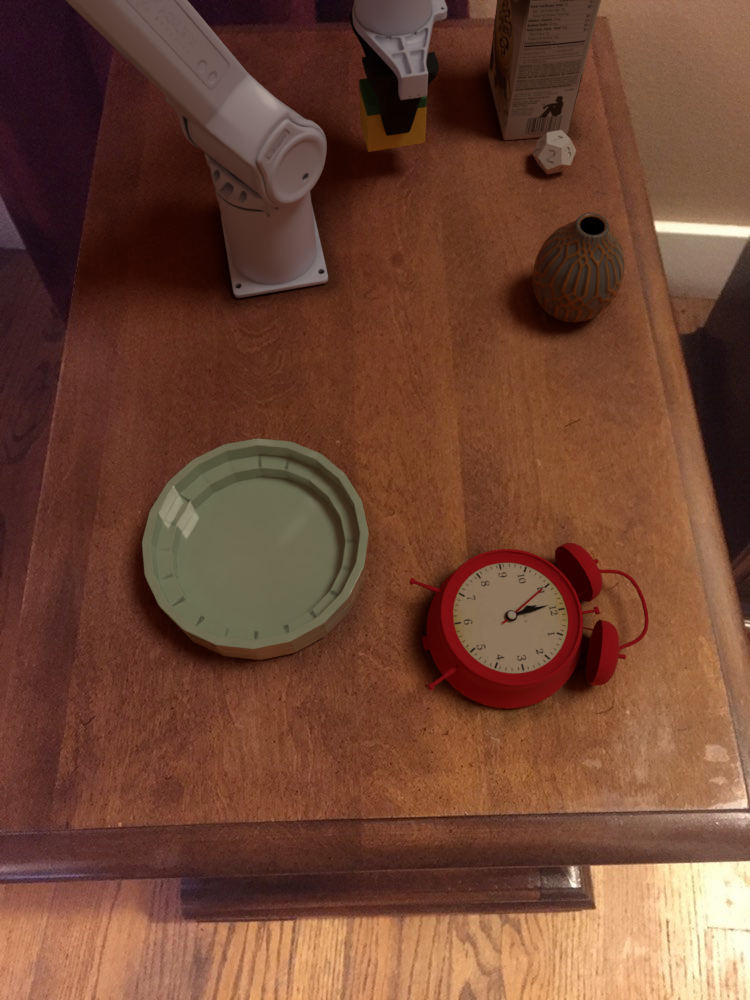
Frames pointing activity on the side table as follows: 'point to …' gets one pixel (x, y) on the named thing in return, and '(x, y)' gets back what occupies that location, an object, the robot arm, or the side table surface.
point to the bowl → (257, 548)
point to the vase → (579, 269)
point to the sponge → (374, 125)
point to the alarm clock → (520, 625)
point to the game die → (554, 152)
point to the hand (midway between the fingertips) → (392, 115)
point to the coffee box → (539, 63)
